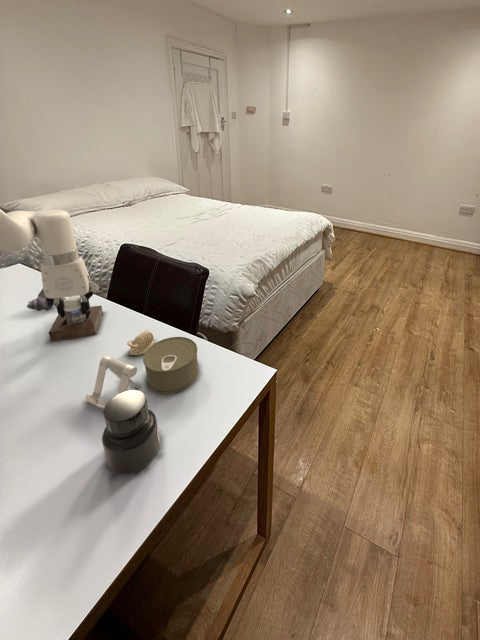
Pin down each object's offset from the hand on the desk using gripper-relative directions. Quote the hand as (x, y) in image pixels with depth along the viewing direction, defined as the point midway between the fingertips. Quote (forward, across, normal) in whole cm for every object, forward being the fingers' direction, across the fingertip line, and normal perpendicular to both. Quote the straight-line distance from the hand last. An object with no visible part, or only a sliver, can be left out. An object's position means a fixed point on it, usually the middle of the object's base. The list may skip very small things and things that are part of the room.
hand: (75, 312), depth 93 cm
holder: (+5, 0, 0) cm, 5 cm away
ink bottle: (+5, +19, -46) cm, 50 cm away
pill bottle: (+4, 0, 0) cm, 4 cm away
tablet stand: (+5, +14, -31) cm, 34 cm away
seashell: (+5, -11, +13) cm, 18 cm away
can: (+5, +26, -28) cm, 39 cm away
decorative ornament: (+5, +18, -16) cm, 25 cm away
